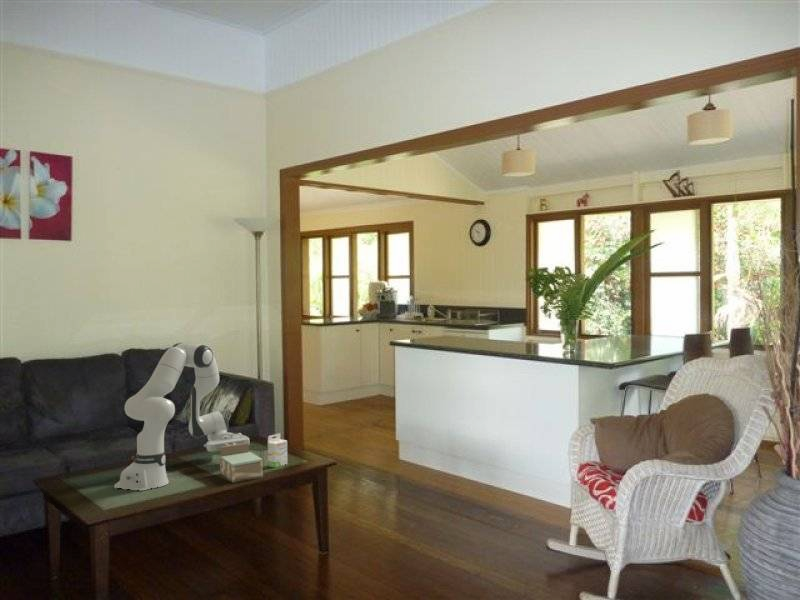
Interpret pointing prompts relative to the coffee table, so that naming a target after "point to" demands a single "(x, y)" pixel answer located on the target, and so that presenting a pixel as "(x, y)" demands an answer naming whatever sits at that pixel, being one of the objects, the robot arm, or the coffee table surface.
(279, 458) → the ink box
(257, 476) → the box
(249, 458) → the lid
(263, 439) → the coffee table surface
